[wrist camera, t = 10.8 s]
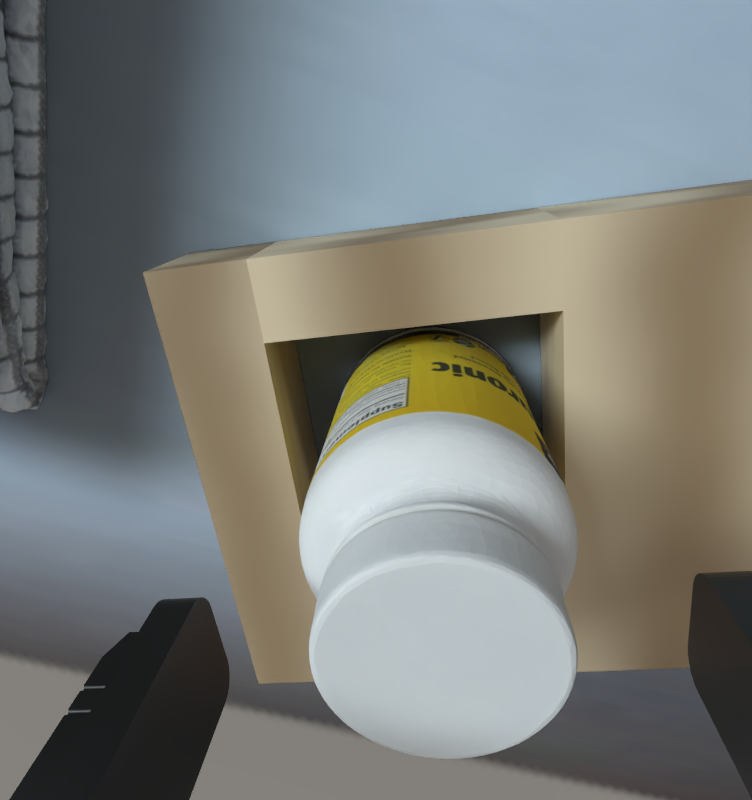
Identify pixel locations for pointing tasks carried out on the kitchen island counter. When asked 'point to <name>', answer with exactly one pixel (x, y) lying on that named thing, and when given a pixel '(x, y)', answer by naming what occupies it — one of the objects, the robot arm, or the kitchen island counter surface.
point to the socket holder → (561, 393)
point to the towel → (23, 204)
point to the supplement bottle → (439, 553)
